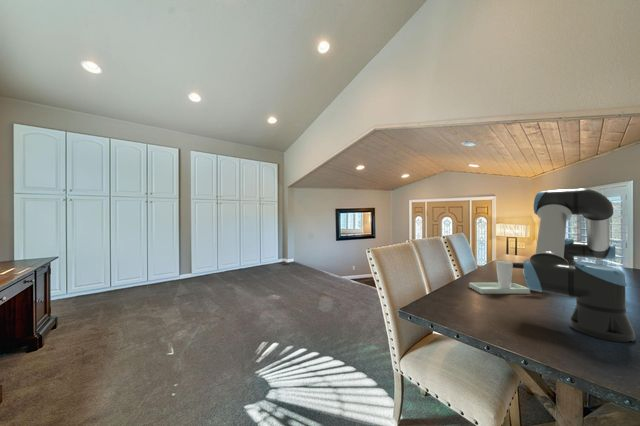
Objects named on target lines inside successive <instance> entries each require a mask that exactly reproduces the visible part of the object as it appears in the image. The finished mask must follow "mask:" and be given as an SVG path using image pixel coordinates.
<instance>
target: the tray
mask: <svg viewBox="0 0 640 426" xmlns="http://www.w3.org/2000/svg"><path fill="white" fill-rule="evenodd" d="M468 288H470V289H471V288H472V290H473V289H474V291H475V292H477V293H478V294H481V295H521V294H522V295H524V294H526V295H528V294H529V295H531V289H529V288H528V287H527V286H525V285H521V284H518V283H515V282H513V281H511V289H499V288H498V281H497V282H469V283H468Z"/></svg>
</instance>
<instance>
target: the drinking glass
mask: <svg viewBox="0 0 640 426" xmlns="http://www.w3.org/2000/svg"><path fill="white" fill-rule="evenodd" d="M512 263H513V262H511V261H507V260H498V261H496V265H495V267H496V275H497V276H496V277H497V282H498V288H499V289H511V282H513V281H512V279H513V268H512Z"/></svg>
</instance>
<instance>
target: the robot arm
mask: <svg viewBox="0 0 640 426" xmlns="http://www.w3.org/2000/svg"><path fill="white" fill-rule="evenodd" d="M533 212H534V214H535V215H537V216H538V218H539V219H540V221H539V227H538V235H537V241H536V248H535V253H534V254H532V255H531V256H530V258H529V259H527V260H524V261H523V262H512V269H521V270H522V275H524V282H525V285H526V288H529V289H530V291H535V292H540V293H546V294H552V295H559V296H563V297H569V298H570V297H571V298H574V299H575V301H576V302H575V307H574V310H573V311H572V314H571V315H570V318H569V326H570V327H571V328H573V330H576V331H577V332H580V333H582V334H584V335H587V336H589V337H594V338H598V339H602V340H606V341H611V342H618V343H630V342H629V341H632V342H634V341H636V333H635V329H634V328H633V326H632V323H631V321H630V319H629V318H628V315H627V300H626V299H627V298H626V287H627V283H626V275H625V273H624V271H622V270H621V269H619V268H616V267H613V266H611V265H610V266H609V265H606V264H601V263H596V262H595V263H594V262H588V261H577V260H575V257H577V258H578V257H579V258H580V257H581V258H591V259H593V258H594V259H601V260H614V259H616V245H615V244H611V243H610V242H611V240H610V239H611V236H610V235H611V234H610V233H611V228H610V226H611V218H612V217H613V216H614V206H613V204H612V202H611V201H610V199H609V198H608V197H607V196H606V195H603V193H601V192H599V191H596V190H594V189H590V188H569V189H567V188H566V189H551V190H550V189H548V190H541V191H538V192H537V193H536V194H535V197H534V201H533ZM573 215H575V216H576V215H581V216H582V217H583V218H584V221H585V233H586V242H580V241H574V239H573V238H571V237H570V238H568V237H566V231H567V222H568V220H570V218H572V216H573Z"/></svg>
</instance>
